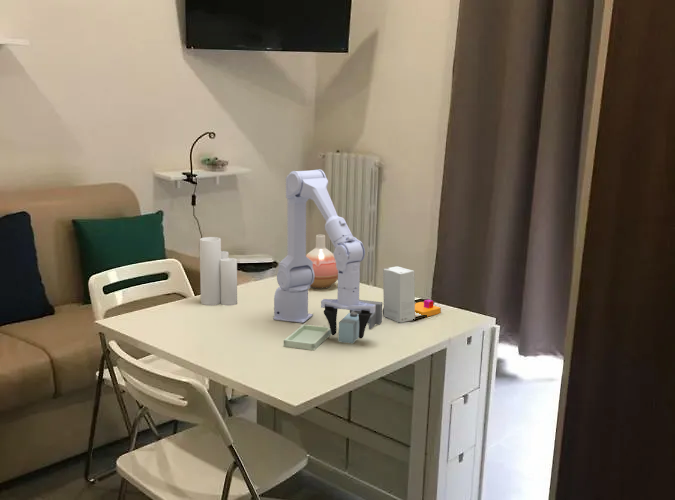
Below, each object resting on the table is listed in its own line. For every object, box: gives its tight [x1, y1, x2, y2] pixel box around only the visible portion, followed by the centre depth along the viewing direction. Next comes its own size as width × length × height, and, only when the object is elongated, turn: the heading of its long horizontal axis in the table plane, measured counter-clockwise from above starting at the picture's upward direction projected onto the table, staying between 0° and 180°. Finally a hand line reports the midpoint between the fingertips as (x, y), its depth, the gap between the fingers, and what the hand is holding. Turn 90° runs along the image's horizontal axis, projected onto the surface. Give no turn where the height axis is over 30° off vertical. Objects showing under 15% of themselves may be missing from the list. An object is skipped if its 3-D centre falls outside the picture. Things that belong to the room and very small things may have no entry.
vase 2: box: [306, 234, 338, 290], centre depth 256 cm, size 14×14×18 cm
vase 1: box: [199, 236, 238, 306], centre depth 235 cm, size 11×7×20 cm, turn 93°
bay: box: [349, 299, 383, 330], centre depth 217 cm, size 9×8×6 cm
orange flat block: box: [415, 299, 442, 318], centre depth 230 cm, size 8×8×4 cm
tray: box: [283, 323, 332, 351], centre depth 204 cm, size 8×14×2 cm, turn 162°
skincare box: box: [382, 265, 416, 323], centre depth 223 cm, size 8×6×15 cm
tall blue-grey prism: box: [338, 312, 360, 344], centre depth 206 cm, size 4×9×6 cm, turn 162°
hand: (347, 335), depth 204 cm, fingers open, 7 cm apart
